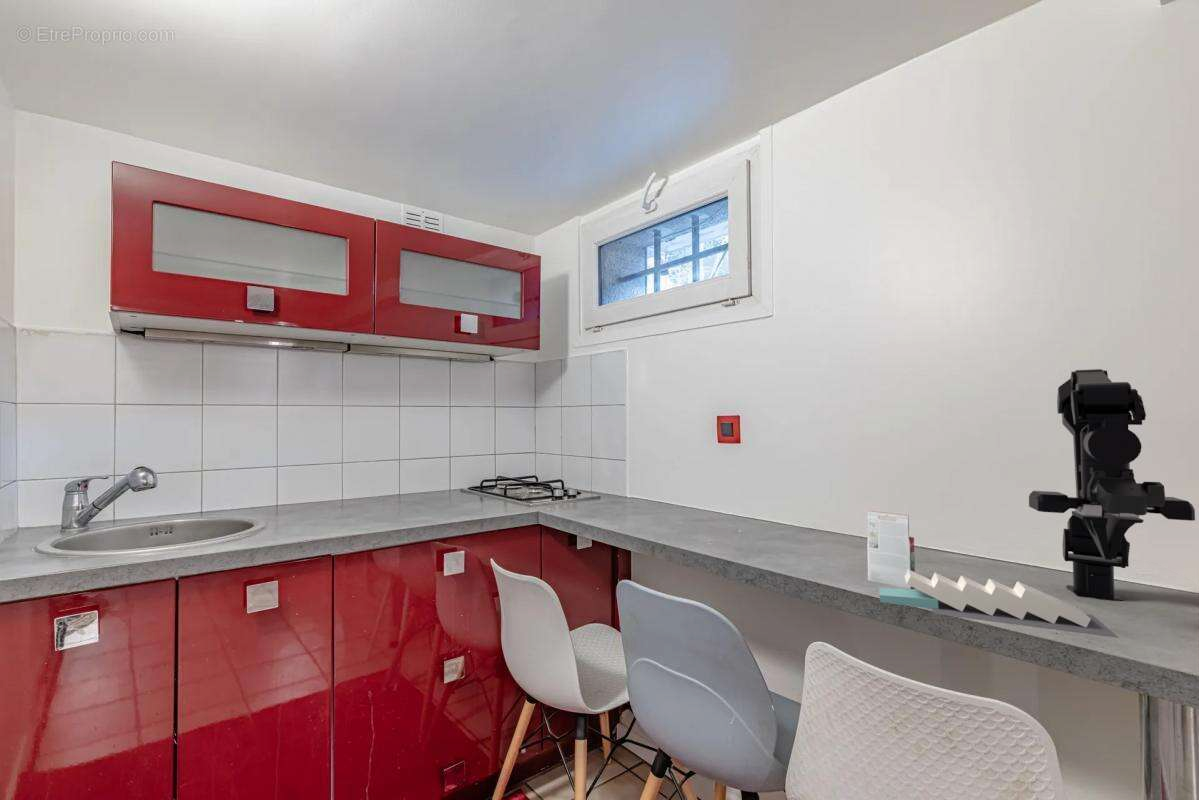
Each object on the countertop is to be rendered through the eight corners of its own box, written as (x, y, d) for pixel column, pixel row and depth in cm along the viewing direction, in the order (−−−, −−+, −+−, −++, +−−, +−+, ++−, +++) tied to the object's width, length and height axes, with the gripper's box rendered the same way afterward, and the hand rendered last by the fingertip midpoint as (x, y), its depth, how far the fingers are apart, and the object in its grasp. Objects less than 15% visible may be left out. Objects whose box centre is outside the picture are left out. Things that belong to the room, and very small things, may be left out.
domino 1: (938, 609, 94) (880, 604, 98) (934, 600, 99) (879, 595, 103) (937, 599, 94) (879, 595, 98) (934, 591, 99) (878, 587, 103)
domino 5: (1054, 623, 88) (991, 594, 91) (1044, 613, 92) (985, 586, 96) (1058, 615, 87) (995, 586, 91) (1049, 605, 92) (989, 578, 95)
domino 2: (962, 611, 93) (906, 584, 97) (957, 602, 97) (904, 576, 101) (966, 603, 93) (910, 576, 96) (961, 595, 97) (908, 569, 101)
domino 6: (1086, 627, 86) (1021, 597, 90) (1074, 617, 90) (1013, 589, 94) (1090, 618, 86) (1025, 589, 89) (1079, 608, 90) (1017, 581, 94)
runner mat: (926, 597, 102) (926, 595, 102) (1092, 617, 91) (1092, 614, 91) (933, 615, 92) (933, 613, 92) (1119, 640, 82) (1119, 637, 82)
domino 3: (992, 616, 91) (934, 587, 95) (986, 606, 96) (931, 580, 99) (996, 607, 91) (938, 579, 95) (990, 598, 95) (934, 572, 99)
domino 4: (1022, 619, 89) (962, 591, 93) (1014, 610, 94) (957, 583, 97) (1026, 611, 89) (966, 582, 93) (1018, 602, 94) (961, 575, 97)
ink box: (872, 578, 113) (871, 508, 114) (916, 586, 108) (914, 512, 108) (867, 582, 111) (865, 510, 111) (911, 591, 105) (909, 515, 106)
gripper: (1048, 462, 84) (1050, 565, 83) (1215, 467, 76) (1219, 580, 76) (1026, 457, 94) (1029, 549, 94) (1173, 461, 86) (1176, 561, 86)
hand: (1107, 559), depth 87 cm, fingers closed
